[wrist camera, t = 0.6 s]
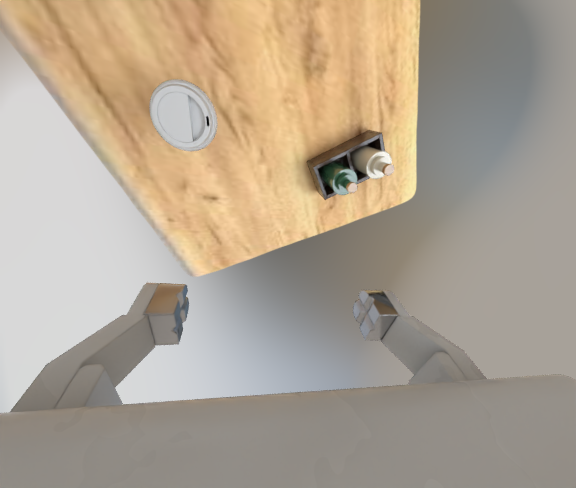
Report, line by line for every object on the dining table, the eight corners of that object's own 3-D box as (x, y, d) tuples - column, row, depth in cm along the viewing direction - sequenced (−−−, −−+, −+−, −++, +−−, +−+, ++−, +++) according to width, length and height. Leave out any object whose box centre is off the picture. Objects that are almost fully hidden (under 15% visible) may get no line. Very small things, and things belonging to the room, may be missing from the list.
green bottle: (320, 157, 53) (342, 172, 42) (341, 159, 54) (369, 174, 43) (316, 181, 56) (336, 201, 44) (336, 182, 57) (361, 202, 46)
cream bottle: (350, 142, 52) (381, 153, 41) (371, 144, 54) (407, 156, 42) (344, 167, 55) (372, 183, 44) (364, 168, 56) (396, 185, 45)
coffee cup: (213, 148, 48) (204, 164, 36) (166, 126, 45) (138, 134, 32) (229, 103, 45) (225, 102, 32) (179, 74, 41) (152, 61, 28)
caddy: (317, 192, 58) (324, 200, 54) (306, 161, 54) (313, 167, 49) (375, 163, 57) (387, 169, 52) (369, 130, 52) (382, 132, 48)
